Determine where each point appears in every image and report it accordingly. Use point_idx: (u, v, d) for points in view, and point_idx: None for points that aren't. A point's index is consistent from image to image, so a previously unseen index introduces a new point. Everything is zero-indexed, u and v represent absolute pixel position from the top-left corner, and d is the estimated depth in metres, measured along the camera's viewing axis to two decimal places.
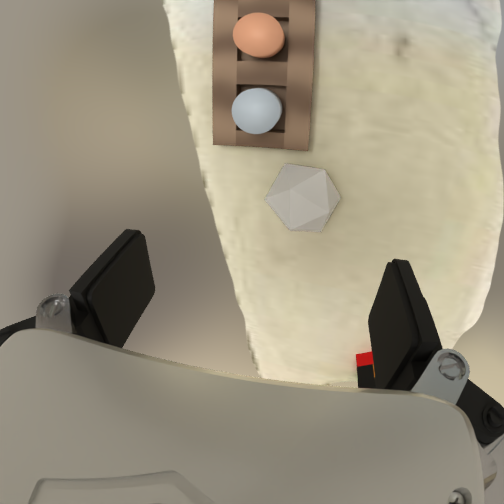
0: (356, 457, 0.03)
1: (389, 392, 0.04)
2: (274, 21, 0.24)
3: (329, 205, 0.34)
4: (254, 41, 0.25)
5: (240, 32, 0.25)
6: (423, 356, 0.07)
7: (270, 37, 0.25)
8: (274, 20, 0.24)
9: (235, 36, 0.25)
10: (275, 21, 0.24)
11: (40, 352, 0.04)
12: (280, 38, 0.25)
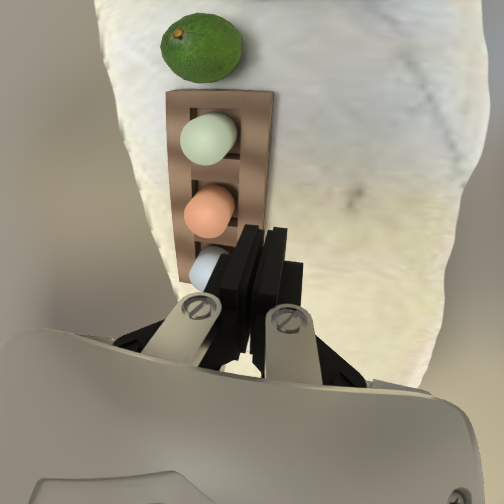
0: (356, 457, 0.03)
1: (389, 392, 0.04)
2: (220, 208, 0.33)
3: None
4: (203, 225, 0.34)
5: (189, 215, 0.34)
6: (268, 310, 0.08)
7: (217, 223, 0.34)
8: (220, 207, 0.33)
9: (186, 218, 0.34)
10: (220, 208, 0.33)
11: (40, 352, 0.04)
12: (225, 225, 0.34)
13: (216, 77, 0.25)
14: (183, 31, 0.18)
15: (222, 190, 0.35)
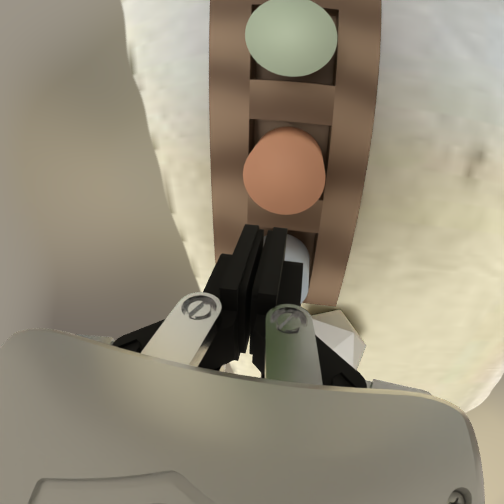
0: (356, 457, 0.03)
1: (389, 392, 0.04)
2: (314, 158, 0.17)
3: None
4: (279, 190, 0.19)
5: (255, 172, 0.18)
6: (268, 310, 0.08)
7: (305, 187, 0.18)
8: (314, 156, 0.17)
9: (247, 179, 0.19)
10: (315, 158, 0.17)
11: (40, 352, 0.04)
12: (321, 189, 0.18)
13: None
14: None
15: (306, 134, 0.19)
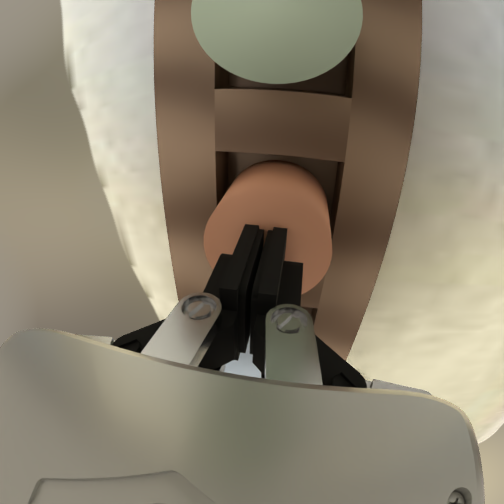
0: (356, 457, 0.03)
1: (389, 392, 0.04)
2: (315, 223, 0.11)
3: None
4: None
5: (221, 242, 0.12)
6: (268, 310, 0.08)
7: None
8: (315, 220, 0.11)
9: (210, 251, 0.12)
10: (318, 223, 0.11)
11: (40, 352, 0.04)
12: (325, 269, 0.12)
13: None
14: None
15: (304, 173, 0.13)
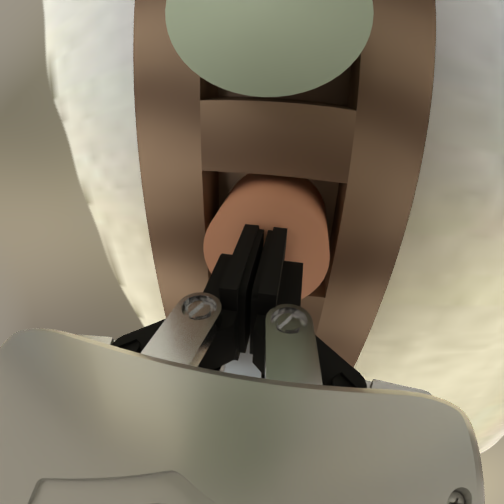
0: (356, 457, 0.03)
1: (389, 392, 0.04)
2: (313, 230, 0.11)
3: None
4: None
5: (220, 249, 0.12)
6: (268, 310, 0.08)
7: None
8: (313, 227, 0.11)
9: (210, 257, 0.13)
10: (316, 230, 0.11)
11: (40, 352, 0.04)
12: (322, 275, 0.12)
13: None
14: None
15: (302, 181, 0.13)
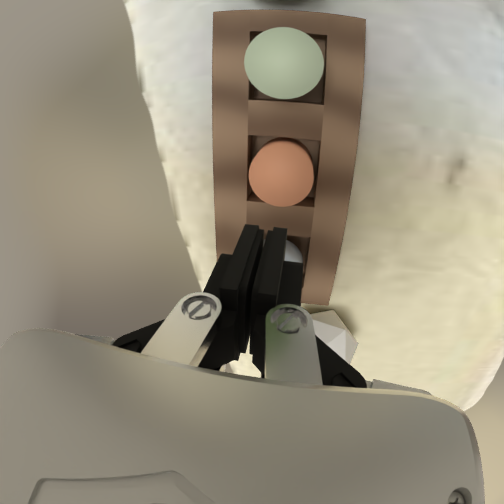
0: (356, 457, 0.03)
1: (389, 392, 0.04)
2: (304, 161, 0.22)
3: None
4: (277, 187, 0.24)
5: (258, 173, 0.23)
6: (268, 310, 0.08)
7: (298, 184, 0.23)
8: (304, 159, 0.22)
9: (252, 178, 0.24)
10: (305, 161, 0.22)
11: (40, 352, 0.04)
12: (310, 186, 0.23)
13: None
14: None
15: (298, 142, 0.25)
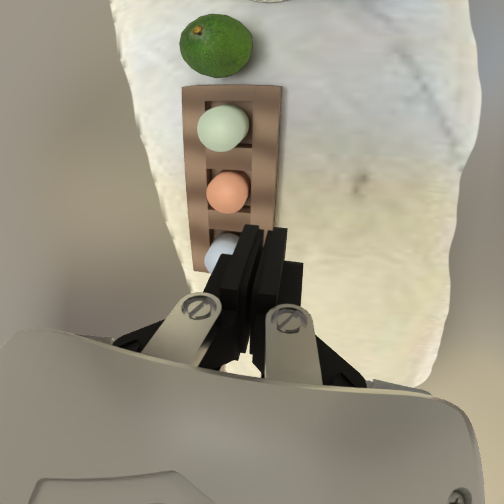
0: (356, 457, 0.03)
1: (389, 392, 0.04)
2: (239, 185, 0.37)
3: None
4: (224, 201, 0.38)
5: (212, 193, 0.38)
6: (268, 310, 0.08)
7: (236, 199, 0.38)
8: (239, 184, 0.37)
9: (208, 196, 0.38)
10: (240, 185, 0.37)
11: (40, 352, 0.04)
12: (244, 200, 0.38)
13: (230, 71, 0.28)
14: (202, 28, 0.21)
15: (240, 171, 0.39)
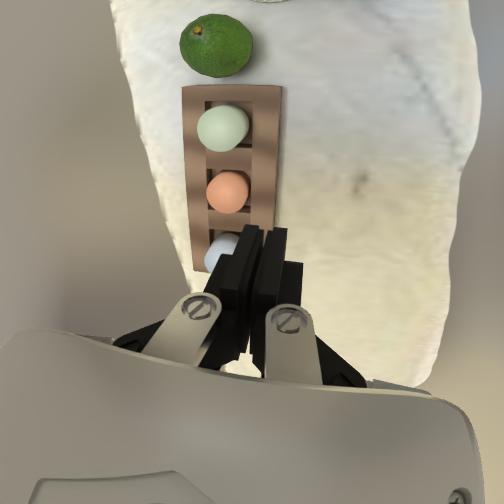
0: (356, 457, 0.03)
1: (389, 392, 0.04)
2: (239, 185, 0.37)
3: None
4: (224, 201, 0.38)
5: (211, 193, 0.38)
6: (268, 310, 0.08)
7: (236, 199, 0.38)
8: (239, 184, 0.37)
9: (208, 196, 0.38)
10: (240, 185, 0.37)
11: (40, 352, 0.04)
12: (244, 200, 0.38)
13: (230, 71, 0.28)
14: (202, 28, 0.21)
15: (240, 171, 0.39)
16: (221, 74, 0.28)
